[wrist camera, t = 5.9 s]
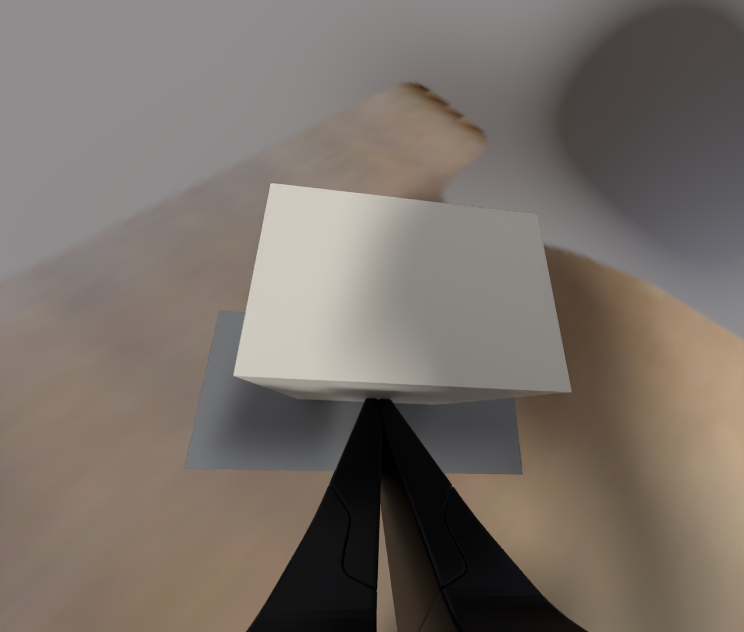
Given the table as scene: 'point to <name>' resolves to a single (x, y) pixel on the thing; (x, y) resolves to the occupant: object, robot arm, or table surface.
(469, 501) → the table surface
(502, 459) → the plinth
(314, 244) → the card box
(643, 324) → the table surface
